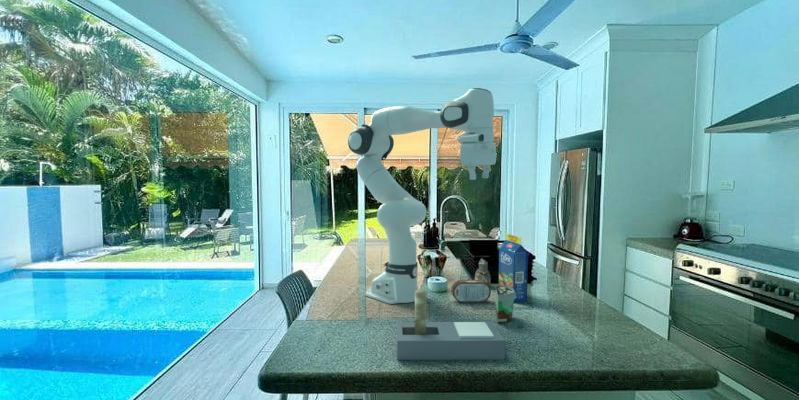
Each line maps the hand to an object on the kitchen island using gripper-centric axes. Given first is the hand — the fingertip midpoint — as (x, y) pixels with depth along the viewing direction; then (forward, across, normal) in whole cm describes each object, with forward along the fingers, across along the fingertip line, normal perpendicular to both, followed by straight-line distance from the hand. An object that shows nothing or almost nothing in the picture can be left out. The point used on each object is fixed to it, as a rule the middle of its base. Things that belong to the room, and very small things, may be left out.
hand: (479, 178), depth 119 cm
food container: (+47, 0, +11) cm, 48 cm away
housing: (+45, +31, +6) cm, 55 cm away
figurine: (+50, -29, -12) cm, 59 cm away
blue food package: (+49, -23, +4) cm, 54 cm away
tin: (+48, -8, -6) cm, 49 cm away
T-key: (+45, +36, 0) cm, 58 cm away
